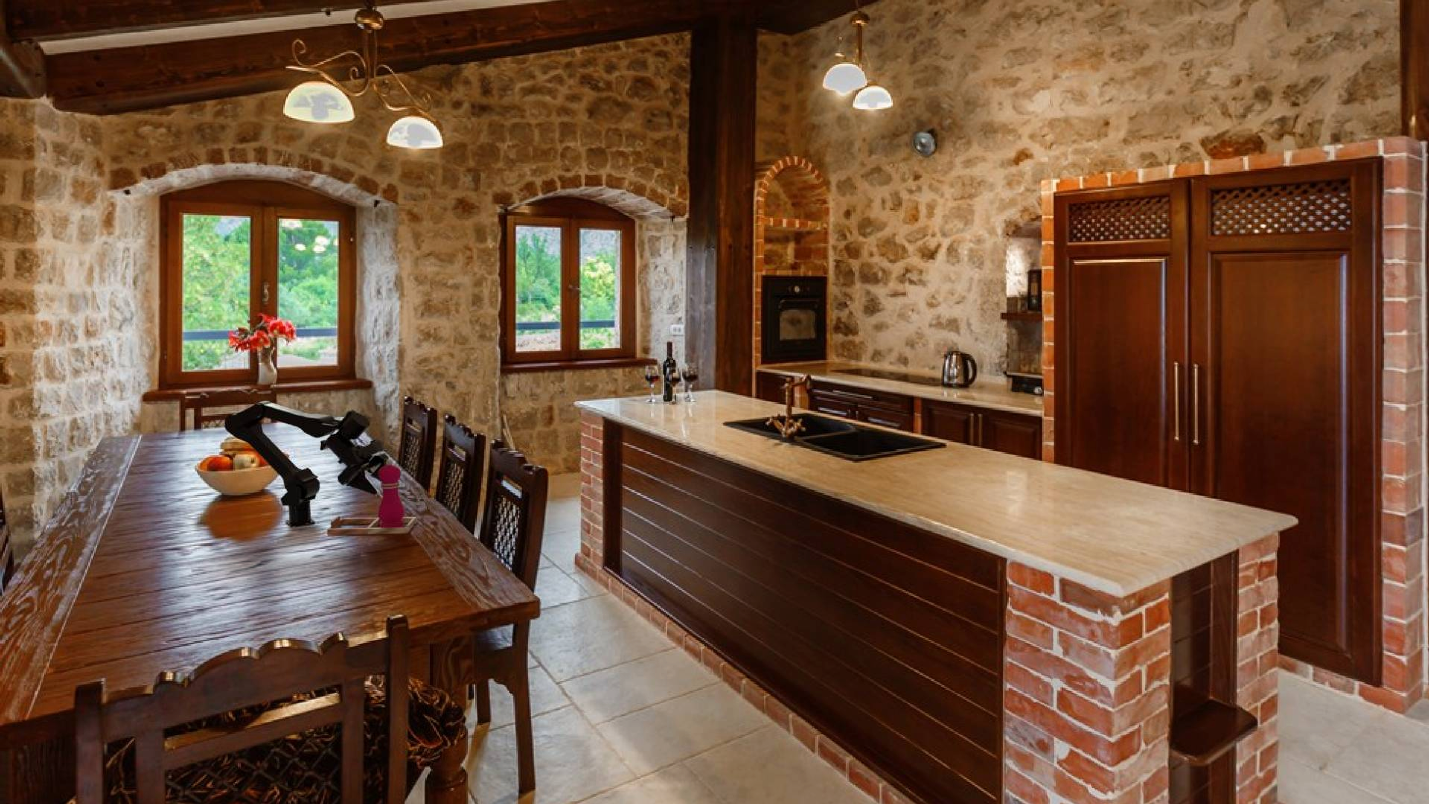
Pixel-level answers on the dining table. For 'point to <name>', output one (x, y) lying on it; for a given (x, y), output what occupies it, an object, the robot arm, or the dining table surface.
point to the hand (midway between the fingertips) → (384, 489)
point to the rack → (371, 528)
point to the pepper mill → (390, 497)
